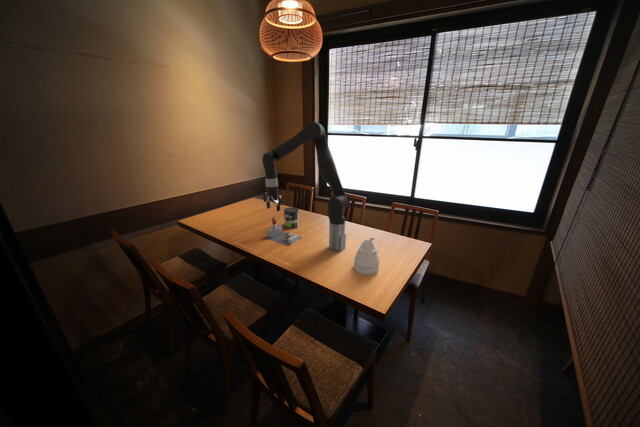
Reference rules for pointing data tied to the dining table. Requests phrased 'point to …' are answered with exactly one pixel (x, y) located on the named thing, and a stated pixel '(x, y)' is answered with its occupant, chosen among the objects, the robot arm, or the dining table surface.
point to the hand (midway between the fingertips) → (273, 209)
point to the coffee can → (291, 218)
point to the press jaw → (274, 229)
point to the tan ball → (288, 234)
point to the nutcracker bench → (284, 239)
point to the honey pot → (367, 257)
